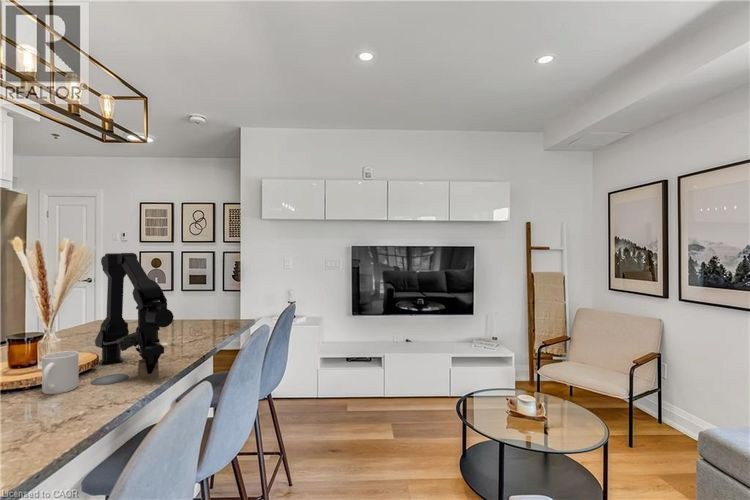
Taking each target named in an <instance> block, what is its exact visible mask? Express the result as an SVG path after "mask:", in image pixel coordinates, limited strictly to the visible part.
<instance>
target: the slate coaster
mask: <svg viewBox="0 0 750 500" xmlns="http://www.w3.org/2000/svg"><path fill="white" fill-rule="evenodd" d="M129 378H130V375H129V374H125V373H116V374H108V375H103V376H100V377H96V378H95V379H92V380H91V381H90V384H91V385H93V386H106V385H112V384H113V385H114V384H117V383H120V382H121V383H122V382H123V381H126V380H128V379H129Z"/></svg>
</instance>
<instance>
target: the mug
mask: <svg viewBox="0 0 750 500" xmlns="http://www.w3.org/2000/svg"><path fill="white" fill-rule="evenodd" d="M79 357H80V356H79V351H76V350H65V351H64V350H63V351H56V352H51V353H48V354H45V355H43V356H42V357H41V391H42V393H43V394H45V395H59V394H64V393H68V392H70V391H74V390H75V389H76V388H78V387H79V384H80V383H79V377H80V374H79V373H80V372H79V366H80V365H79V364H80V363H79V362H80V361H79V360H80V359H79Z"/></svg>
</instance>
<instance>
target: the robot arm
mask: <svg viewBox="0 0 750 500" xmlns="http://www.w3.org/2000/svg"><path fill="white" fill-rule="evenodd" d="M100 263H101V266H102V271H103V273H104V274H105V275H106V277H107V290H106V292H107V295H106V297H107V298H106V317H105V319H104V320H103V321H102V323H101V324H100V329H99V332H98V334H97V336H96V337H95V340H94V343H95V344H94V345H95V347H96V348H100V349H101V359H100V360H99V362H100V365H101V366H102V365H109V364H115V363H122V362H123V361H124V360H123V357H122V356H121V355H122V354H121V353H122V352H124V351H126V350H128V349H129V348H131V347H136V348H135V350H136V351H137V352H138V353H139V356H140V357H141V359H145V363H146V368H147V373H148V374H151V373H152V372H153V370H154V367H155V365H156V363H157V361H158V362H159V360H160V357H161V355H163V354H165V346H164V345H163V344H162V343H161V342H160V338H159V331H160V328H167V327H168V326H170V325H171V324H172V322H173V321H174V317H175V316H174V314H173V312H172V311H171V310H170V309H169V308H168V299H167V298H166V296H165V293H164V291H163V289H162V287H161V286H160V285H159V284H158V283H157V282H156V281H155V280H154V279H150V278H149V275H148V274H147V273H146V271H145V269H144V268H143V266H142V265H141V262H139V260H138V255H137V254H136V253H134V252H121V253H119V252H117V253H115V252H113V253H112V252H111V253H109V252H108V253H105V254H104V256H101V260H100ZM126 276H127V277H128V278H129V281H130V283H131V284H132V286H133V289H132V296H133V300H134V302H135V303H136V304H137V305H136V307H135V309H136V310H137V326H136V328H135V331H134V332H132V333H130V331H129V324H128V322H126V321H125V319H124V318H123V310H124V309H123V307H124V285H125V284H124V283H125V282H124V281H125V278H126Z"/></svg>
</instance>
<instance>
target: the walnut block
mask: <svg viewBox="0 0 750 500" xmlns="http://www.w3.org/2000/svg"><path fill="white" fill-rule="evenodd" d="M137 363H138V364H137V365H138V366H137V367H138V370H137V373H138V375H137V376H138V377H139V379H140V380H143V379H150V378H154V377H159V373H160V372H159V371H160V370H159V360H158V361H157V363H156V365H155V367H154V370H153V372H152V373H151V374H148V373H147V368H146V363H145V359H142V358H141V359H140V358H139V359H138V361H137Z"/></svg>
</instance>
